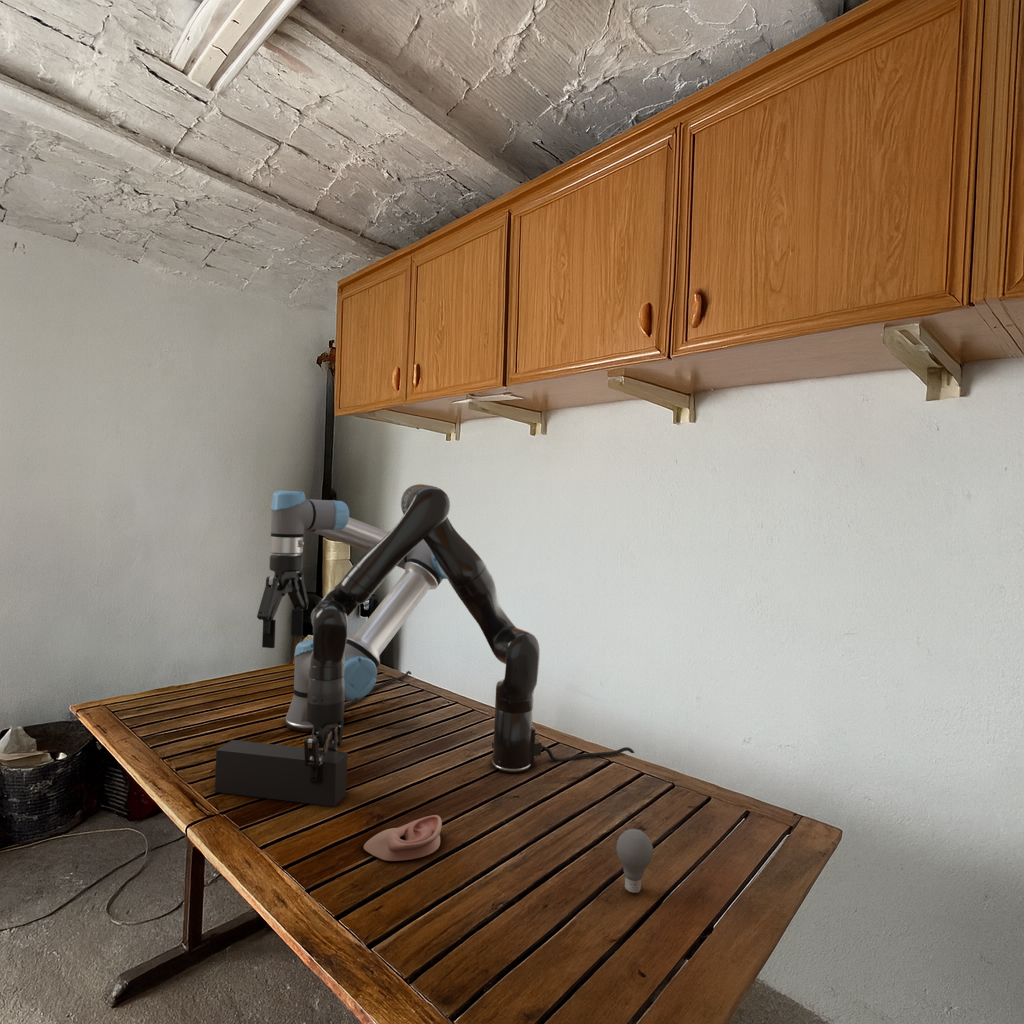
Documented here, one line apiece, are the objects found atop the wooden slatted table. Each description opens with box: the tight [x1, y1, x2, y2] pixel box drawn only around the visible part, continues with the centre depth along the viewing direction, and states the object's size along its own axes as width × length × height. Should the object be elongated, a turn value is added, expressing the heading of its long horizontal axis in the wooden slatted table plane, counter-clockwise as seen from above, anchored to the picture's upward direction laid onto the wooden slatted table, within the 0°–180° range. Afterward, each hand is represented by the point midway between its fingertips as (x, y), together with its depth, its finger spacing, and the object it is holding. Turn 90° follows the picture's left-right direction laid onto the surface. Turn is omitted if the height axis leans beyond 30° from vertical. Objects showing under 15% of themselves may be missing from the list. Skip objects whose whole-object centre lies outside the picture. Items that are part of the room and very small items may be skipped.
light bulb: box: [615, 828, 654, 894], centre depth 106 cm, size 6×6×10 cm
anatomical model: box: [363, 814, 443, 862], centre depth 116 cm, size 13×4×12 cm
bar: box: [214, 739, 348, 808], centre depth 135 cm, size 27×6×9 cm, turn 81°
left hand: (283, 641), depth 154 cm, fingers open, 13 cm apart
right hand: (323, 776), depth 133 cm, fingers closed on bar, 6 cm apart
